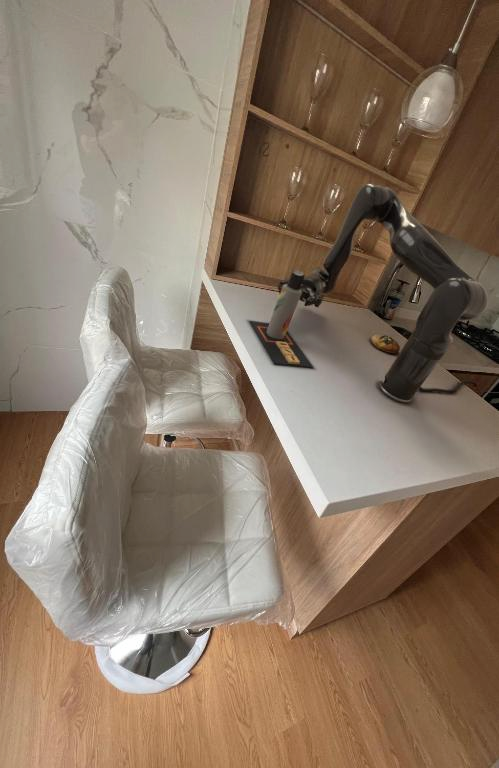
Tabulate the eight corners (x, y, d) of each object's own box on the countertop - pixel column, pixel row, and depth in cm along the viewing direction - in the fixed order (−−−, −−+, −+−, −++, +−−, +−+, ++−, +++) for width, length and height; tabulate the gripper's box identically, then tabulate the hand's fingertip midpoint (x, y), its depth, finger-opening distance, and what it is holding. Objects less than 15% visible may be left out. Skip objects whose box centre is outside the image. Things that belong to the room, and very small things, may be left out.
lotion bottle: (286, 337, 102) (312, 274, 91) (278, 341, 97) (303, 276, 87) (271, 329, 104) (294, 266, 93) (262, 332, 99) (285, 268, 88)
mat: (249, 321, 104) (250, 317, 104) (282, 326, 109) (283, 323, 108) (274, 364, 86) (276, 360, 86) (312, 368, 91) (314, 364, 90)
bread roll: (404, 355, 120) (410, 343, 117) (380, 356, 116) (385, 344, 113) (385, 340, 128) (390, 329, 126) (362, 341, 125) (366, 329, 122)
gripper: (294, 269, 111) (276, 275, 98) (333, 286, 107) (320, 295, 94) (286, 290, 115) (268, 298, 102) (323, 307, 111) (310, 318, 98)
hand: (293, 297), depth 98 cm, fingers open, 8 cm apart
